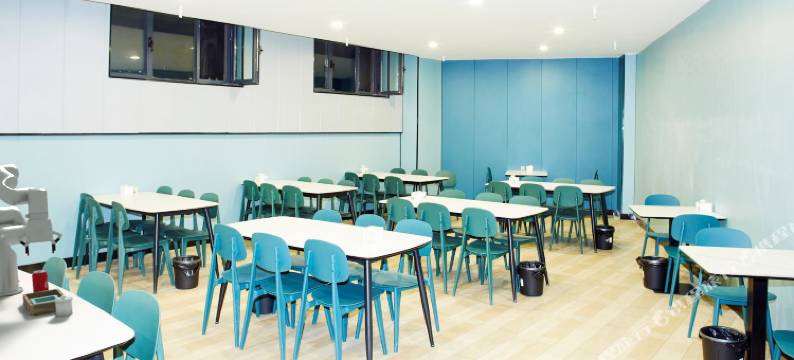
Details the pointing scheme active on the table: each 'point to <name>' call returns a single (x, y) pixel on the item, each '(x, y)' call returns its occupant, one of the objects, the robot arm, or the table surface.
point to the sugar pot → (63, 306)
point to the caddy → (42, 307)
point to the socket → (43, 299)
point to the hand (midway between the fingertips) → (40, 253)
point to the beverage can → (40, 281)
